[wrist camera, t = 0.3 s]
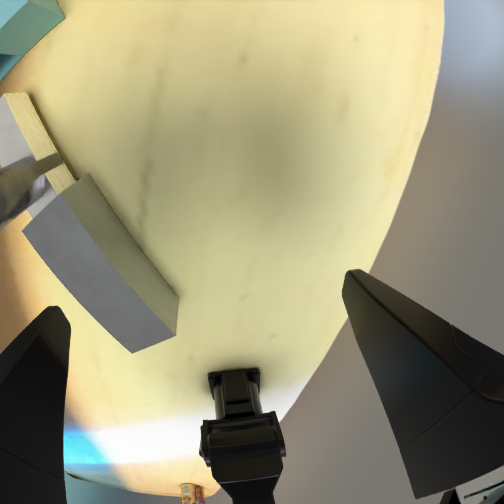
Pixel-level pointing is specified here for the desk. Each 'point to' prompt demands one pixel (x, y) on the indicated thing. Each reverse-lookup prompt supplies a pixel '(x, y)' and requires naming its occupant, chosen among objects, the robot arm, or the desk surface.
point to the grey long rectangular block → (104, 266)
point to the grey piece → (27, 161)
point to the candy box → (192, 494)
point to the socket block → (24, 28)
